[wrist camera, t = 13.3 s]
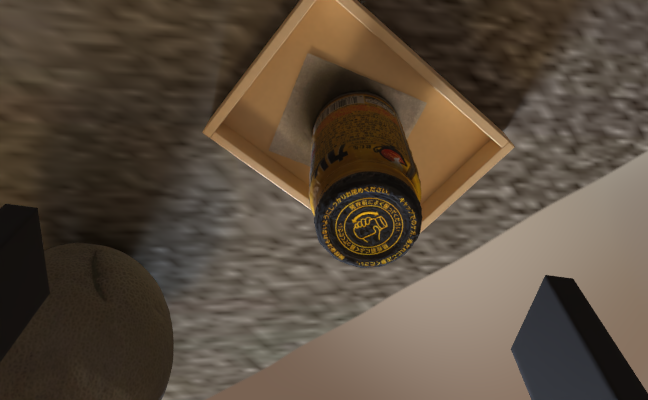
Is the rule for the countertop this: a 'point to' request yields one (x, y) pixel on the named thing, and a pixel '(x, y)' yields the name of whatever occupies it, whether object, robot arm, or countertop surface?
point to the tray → (374, 63)
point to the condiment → (354, 161)
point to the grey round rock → (92, 332)
